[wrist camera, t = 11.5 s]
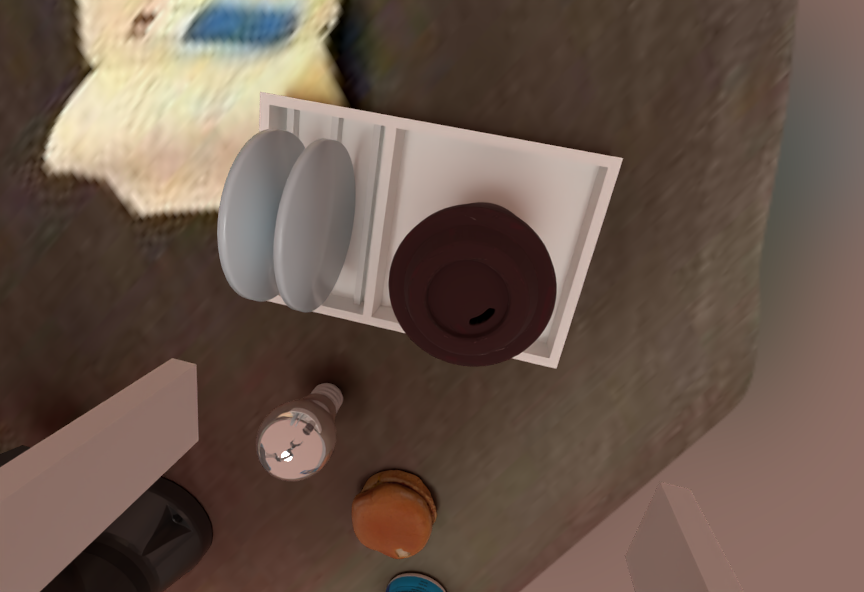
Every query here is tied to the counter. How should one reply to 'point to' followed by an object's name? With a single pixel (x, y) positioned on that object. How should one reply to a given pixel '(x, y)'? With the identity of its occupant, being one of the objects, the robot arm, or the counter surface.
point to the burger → (394, 514)
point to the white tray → (451, 200)
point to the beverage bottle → (414, 584)
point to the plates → (286, 218)
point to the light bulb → (300, 435)
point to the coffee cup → (472, 285)
